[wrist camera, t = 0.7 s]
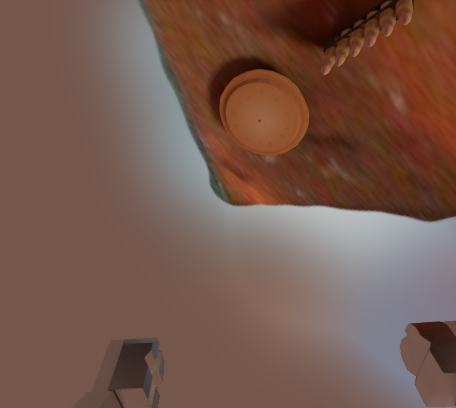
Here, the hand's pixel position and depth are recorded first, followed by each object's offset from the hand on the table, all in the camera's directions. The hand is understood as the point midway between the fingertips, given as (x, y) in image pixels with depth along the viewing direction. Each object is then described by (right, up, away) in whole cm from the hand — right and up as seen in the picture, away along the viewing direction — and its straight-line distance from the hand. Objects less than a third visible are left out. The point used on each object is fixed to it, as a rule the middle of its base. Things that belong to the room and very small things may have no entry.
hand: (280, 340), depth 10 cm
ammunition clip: (+17, +29, +31) cm, 45 cm away
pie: (+5, +22, +44) cm, 49 cm away
